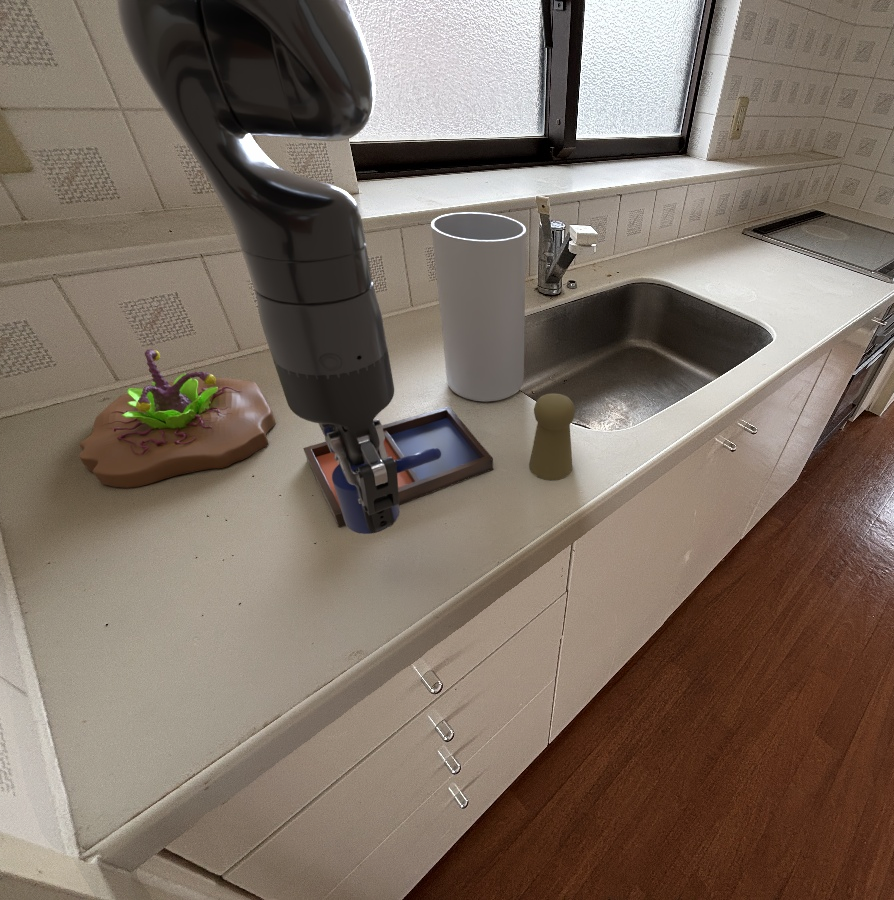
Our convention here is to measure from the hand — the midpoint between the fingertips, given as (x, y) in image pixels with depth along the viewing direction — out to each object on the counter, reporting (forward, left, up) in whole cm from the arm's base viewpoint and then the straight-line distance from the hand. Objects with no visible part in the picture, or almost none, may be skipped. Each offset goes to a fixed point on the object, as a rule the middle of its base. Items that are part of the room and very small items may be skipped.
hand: (370, 507), depth 46 cm
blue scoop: (+2, 0, -1) cm, 3 cm away
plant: (-14, +36, -10) cm, 40 cm away
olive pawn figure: (+24, +6, -10) cm, 27 cm away
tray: (+7, +16, -10) cm, 20 cm away
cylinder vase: (+26, +29, -10) cm, 40 cm away
